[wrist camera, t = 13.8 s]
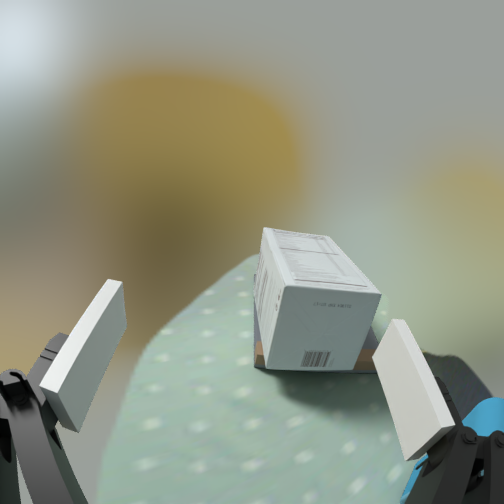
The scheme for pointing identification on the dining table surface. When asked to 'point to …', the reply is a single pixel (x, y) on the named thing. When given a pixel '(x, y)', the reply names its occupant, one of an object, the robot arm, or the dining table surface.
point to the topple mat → (361, 366)
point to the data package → (479, 419)
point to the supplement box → (311, 303)
